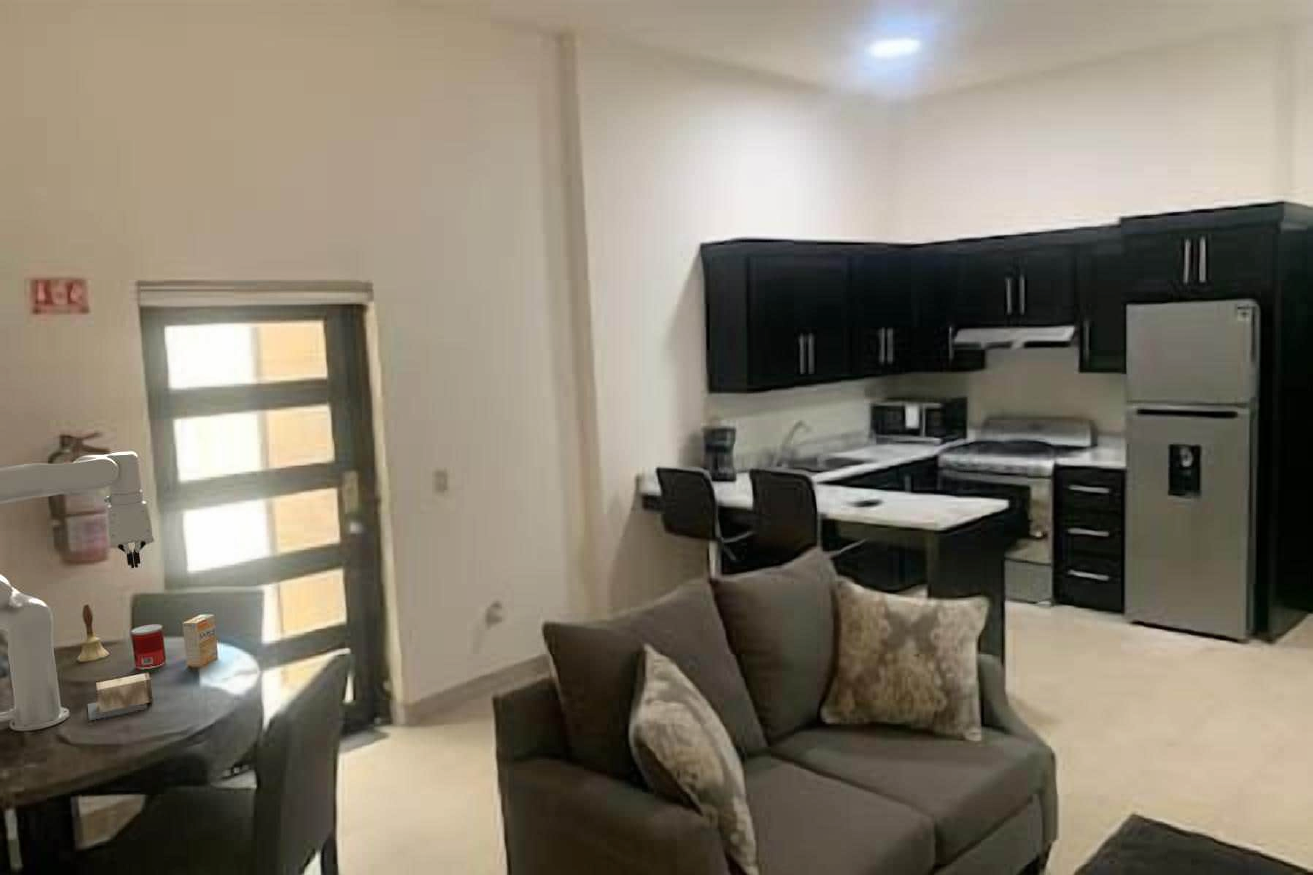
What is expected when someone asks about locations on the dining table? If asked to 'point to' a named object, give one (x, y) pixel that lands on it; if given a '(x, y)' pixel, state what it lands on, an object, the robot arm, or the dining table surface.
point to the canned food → (148, 645)
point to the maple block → (124, 692)
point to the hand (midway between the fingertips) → (134, 566)
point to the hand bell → (90, 640)
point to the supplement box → (200, 640)
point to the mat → (95, 711)
